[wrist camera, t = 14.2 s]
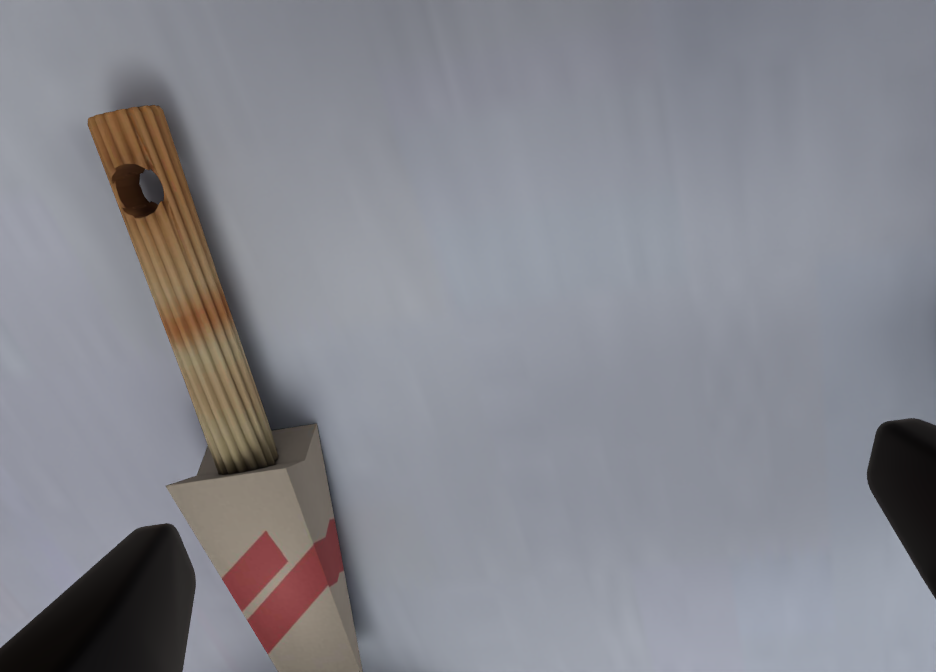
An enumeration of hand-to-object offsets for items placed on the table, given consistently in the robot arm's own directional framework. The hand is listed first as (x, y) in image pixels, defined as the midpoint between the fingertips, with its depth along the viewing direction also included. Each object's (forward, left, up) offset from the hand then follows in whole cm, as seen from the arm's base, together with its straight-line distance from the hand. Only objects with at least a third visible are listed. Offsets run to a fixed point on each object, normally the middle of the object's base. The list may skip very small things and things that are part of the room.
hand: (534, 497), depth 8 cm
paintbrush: (+4, +10, -12) cm, 16 cm away
